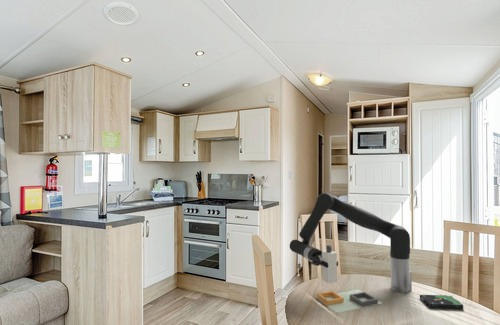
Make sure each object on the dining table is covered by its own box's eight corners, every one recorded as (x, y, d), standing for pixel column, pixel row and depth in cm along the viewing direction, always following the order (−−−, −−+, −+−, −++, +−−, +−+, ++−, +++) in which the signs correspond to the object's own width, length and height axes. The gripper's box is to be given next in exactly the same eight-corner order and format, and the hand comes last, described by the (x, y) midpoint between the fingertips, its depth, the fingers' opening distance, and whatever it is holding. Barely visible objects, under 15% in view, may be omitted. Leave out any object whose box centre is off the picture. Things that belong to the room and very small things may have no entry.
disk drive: (429, 310, 137) (464, 311, 135) (429, 304, 137) (464, 304, 135) (419, 300, 147) (451, 300, 145) (419, 294, 147) (451, 294, 145)
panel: (358, 291, 157) (358, 285, 157) (382, 305, 141) (382, 298, 141) (315, 299, 148) (315, 293, 148) (336, 315, 132) (336, 308, 132)
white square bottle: (330, 278, 148) (330, 244, 149) (336, 281, 144) (336, 246, 144) (322, 279, 147) (321, 245, 147) (328, 283, 142) (327, 247, 142)
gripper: (301, 249, 156) (319, 258, 140) (324, 246, 161) (344, 255, 145) (301, 263, 156) (319, 274, 140) (325, 260, 161) (345, 270, 145)
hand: (332, 264), depth 143 cm, fingers closed on white square bottle, 5 cm apart
